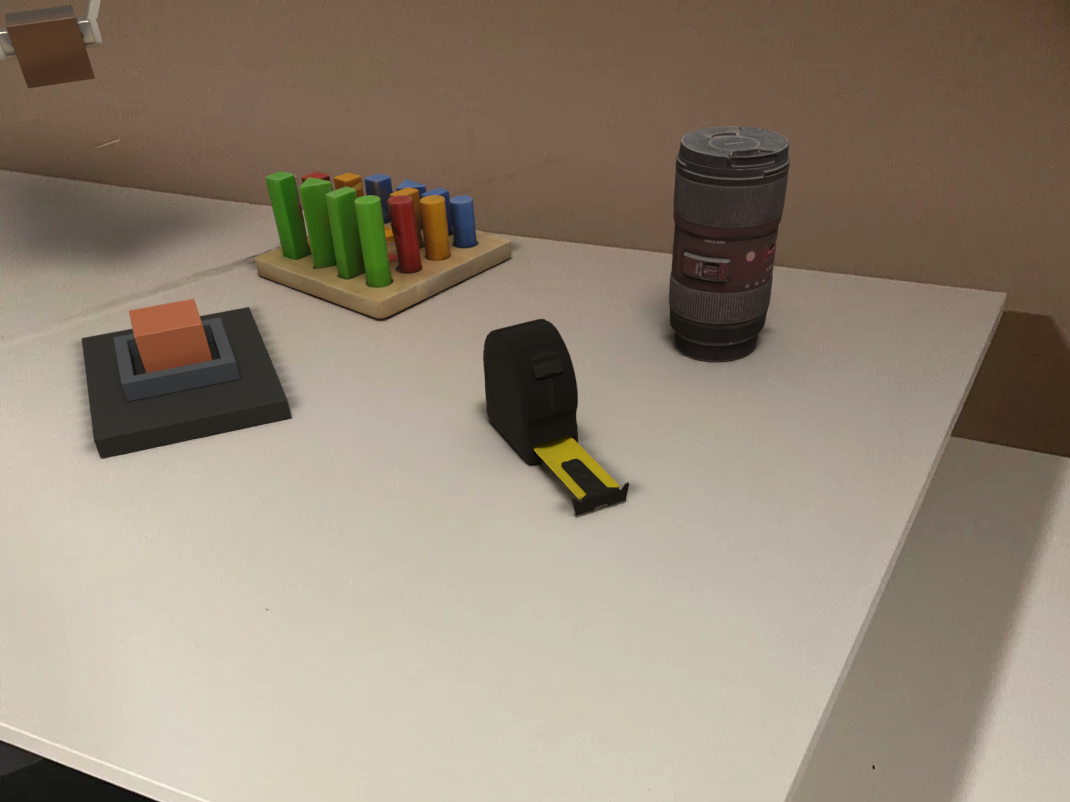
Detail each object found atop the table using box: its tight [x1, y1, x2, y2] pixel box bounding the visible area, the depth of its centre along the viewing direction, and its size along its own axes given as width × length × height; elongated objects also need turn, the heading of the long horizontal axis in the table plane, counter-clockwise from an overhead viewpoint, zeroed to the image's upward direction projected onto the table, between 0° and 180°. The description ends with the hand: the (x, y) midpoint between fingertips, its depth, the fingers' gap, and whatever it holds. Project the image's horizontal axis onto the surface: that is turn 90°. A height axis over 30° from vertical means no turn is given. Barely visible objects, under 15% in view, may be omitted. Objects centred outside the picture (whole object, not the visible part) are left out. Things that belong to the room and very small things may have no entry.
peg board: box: [254, 170, 512, 319], centre depth 93 cm, size 18×17×9 cm
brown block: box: [4, 4, 96, 89], centre depth 78 cm, size 5×5×4 cm
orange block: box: [128, 298, 212, 373], centre depth 78 cm, size 5×5×4 cm
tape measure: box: [482, 318, 630, 517], centre depth 68 cm, size 15×4×8 cm, turn 25°
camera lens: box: [668, 125, 791, 363], centre depth 77 cm, size 8×8×15 cm
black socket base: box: [81, 306, 292, 459], centre depth 80 cm, size 18×14×3 cm
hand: (51, 51), depth 78 cm, fingers closed on brown block, 5 cm apart
